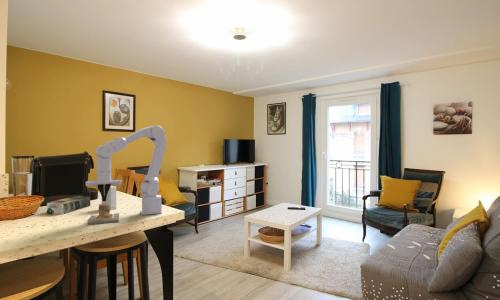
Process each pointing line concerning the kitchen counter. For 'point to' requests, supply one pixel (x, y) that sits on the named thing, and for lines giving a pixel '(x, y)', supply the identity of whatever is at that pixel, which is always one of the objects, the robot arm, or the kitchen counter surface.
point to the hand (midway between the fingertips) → (104, 200)
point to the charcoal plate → (96, 219)
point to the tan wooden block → (104, 211)
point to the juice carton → (68, 204)
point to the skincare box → (111, 197)
